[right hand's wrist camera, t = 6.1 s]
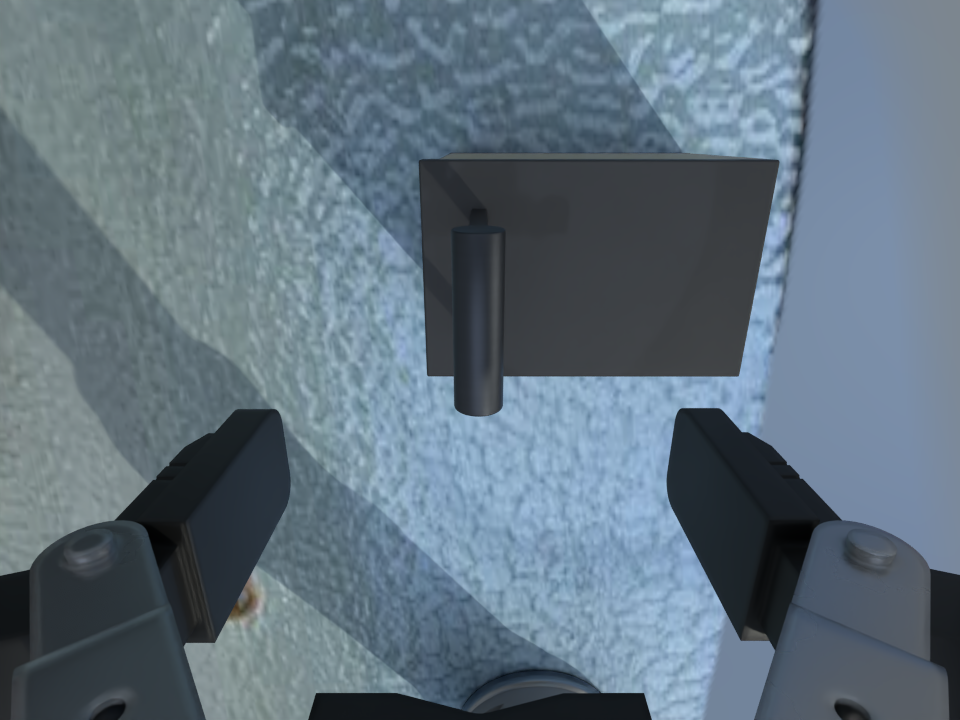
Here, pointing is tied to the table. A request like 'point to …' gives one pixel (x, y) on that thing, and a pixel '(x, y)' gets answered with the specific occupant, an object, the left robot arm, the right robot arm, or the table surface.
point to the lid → (588, 268)
